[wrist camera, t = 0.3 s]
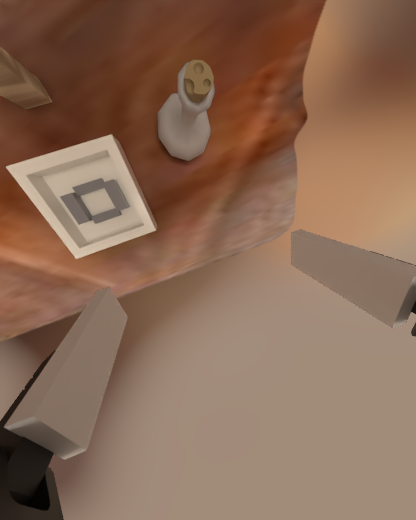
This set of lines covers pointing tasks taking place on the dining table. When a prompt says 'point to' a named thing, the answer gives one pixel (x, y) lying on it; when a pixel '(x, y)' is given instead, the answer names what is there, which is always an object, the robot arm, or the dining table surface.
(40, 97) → the tapered beige beam
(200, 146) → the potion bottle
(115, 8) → the dining table surface
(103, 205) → the white square tray
